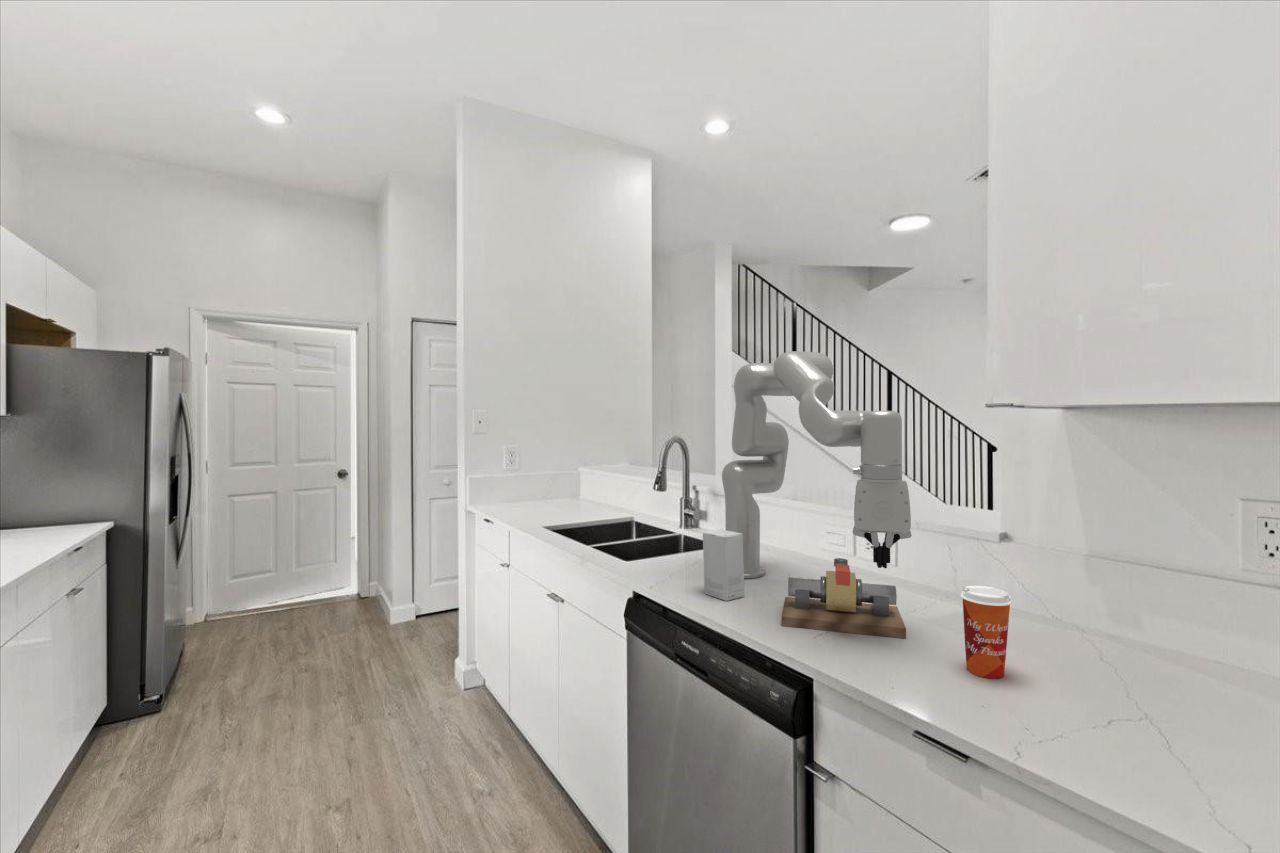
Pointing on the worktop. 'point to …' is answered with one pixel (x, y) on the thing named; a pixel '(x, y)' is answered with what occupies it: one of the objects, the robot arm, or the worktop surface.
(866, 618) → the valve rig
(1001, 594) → the paper cup
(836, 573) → the valve lever
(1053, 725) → the worktop surface
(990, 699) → the worktop surface
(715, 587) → the skincare box
